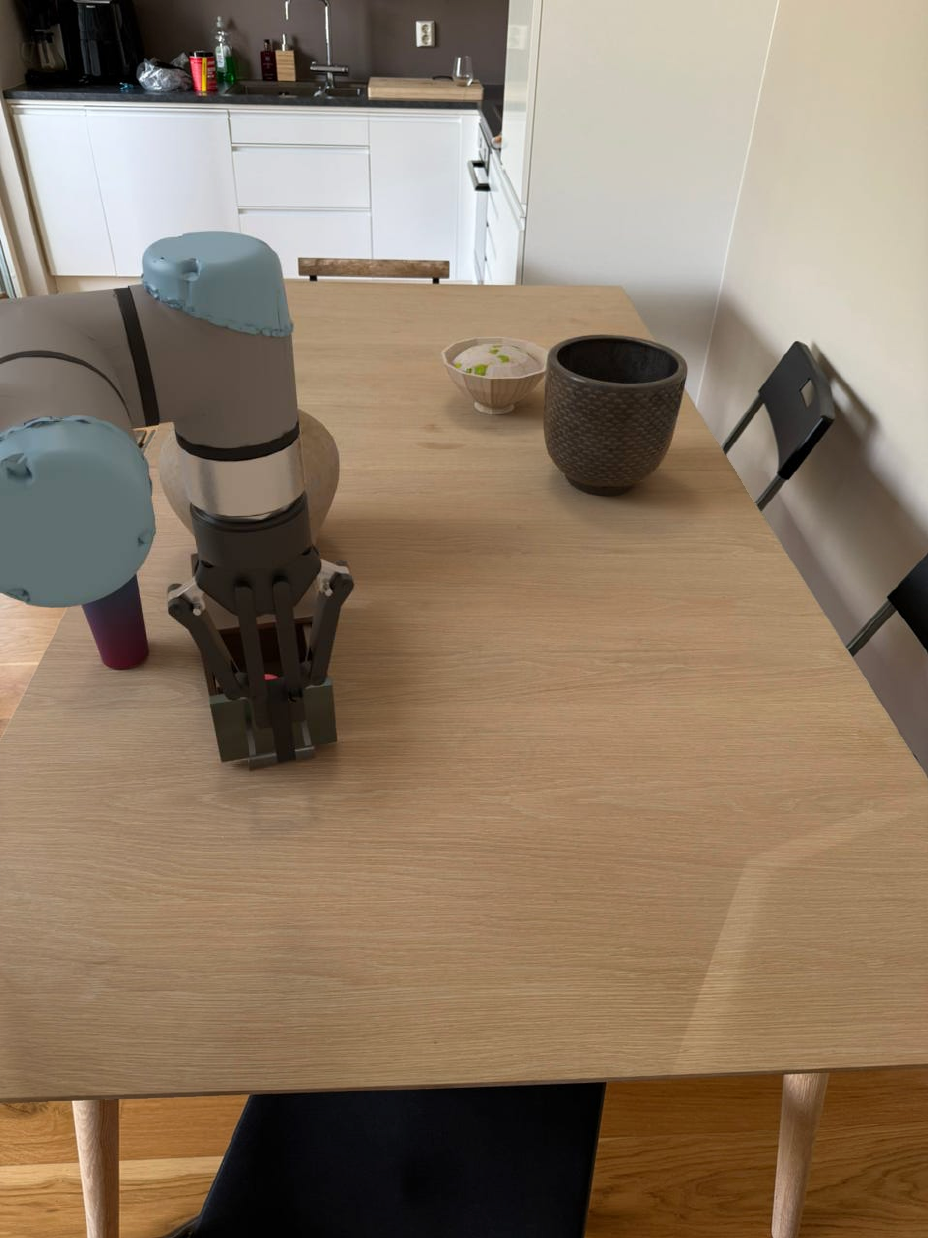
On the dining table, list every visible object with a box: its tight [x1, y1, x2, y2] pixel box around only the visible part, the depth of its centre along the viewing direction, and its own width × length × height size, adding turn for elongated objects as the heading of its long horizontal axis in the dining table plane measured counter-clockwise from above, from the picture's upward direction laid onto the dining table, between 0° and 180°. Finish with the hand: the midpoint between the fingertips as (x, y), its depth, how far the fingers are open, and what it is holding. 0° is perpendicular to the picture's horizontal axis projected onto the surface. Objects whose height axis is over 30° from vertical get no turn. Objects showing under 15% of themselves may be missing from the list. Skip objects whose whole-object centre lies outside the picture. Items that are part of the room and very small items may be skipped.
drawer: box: [208, 622, 338, 772], centre depth 88 cm, size 20×11×8 cm, turn 16°
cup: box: [81, 572, 150, 671], centre depth 96 cm, size 7×7×15 cm
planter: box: [543, 333, 689, 497], centre depth 130 cm, size 20×20×19 cm
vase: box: [157, 317, 341, 547], centre depth 109 cm, size 22×22×30 cm
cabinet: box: [190, 552, 329, 697], centre depth 99 cm, size 15×13×10 cm
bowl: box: [440, 336, 550, 415], centre depth 153 cm, size 19×19×10 cm
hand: (284, 749), depth 72 cm, fingers closed
